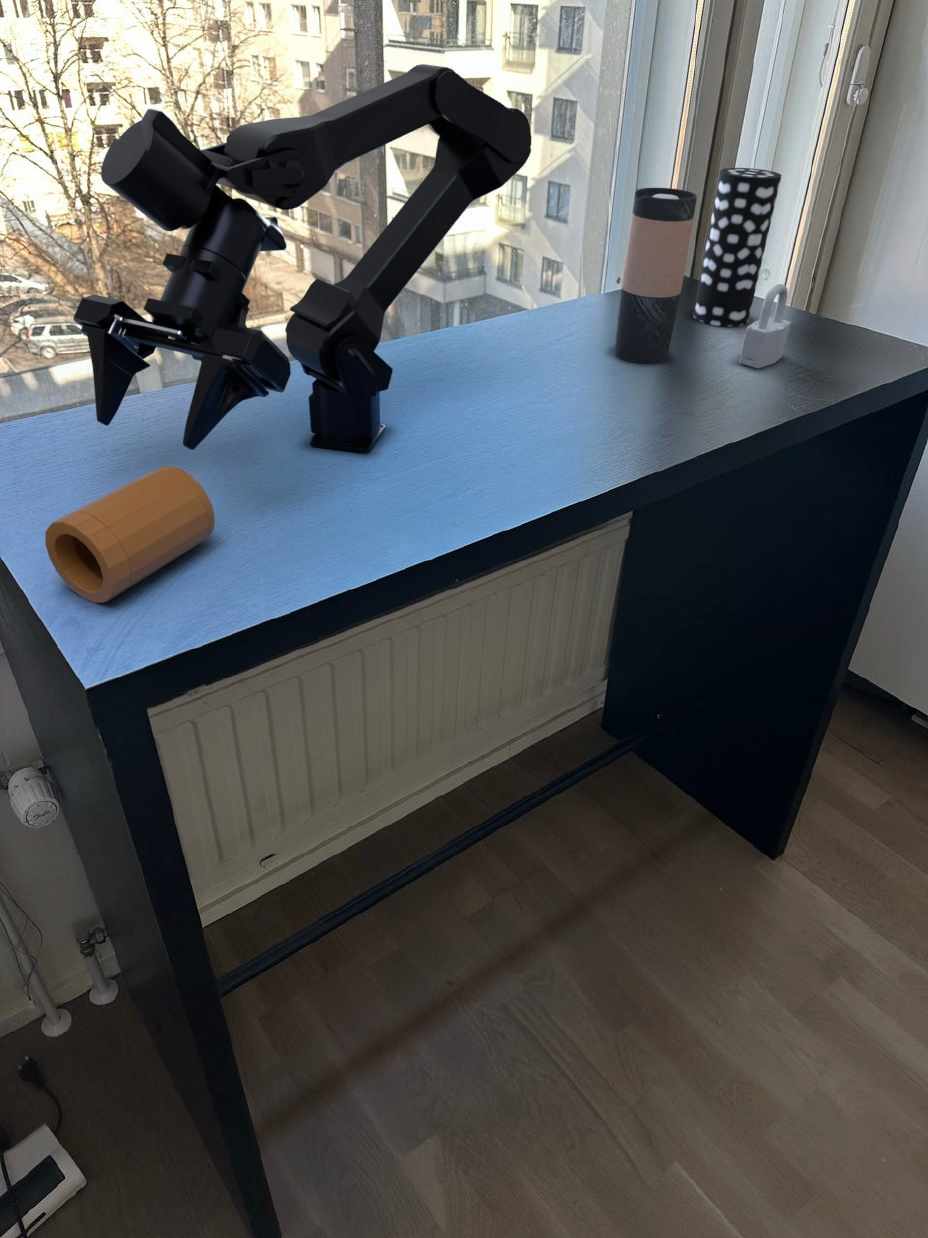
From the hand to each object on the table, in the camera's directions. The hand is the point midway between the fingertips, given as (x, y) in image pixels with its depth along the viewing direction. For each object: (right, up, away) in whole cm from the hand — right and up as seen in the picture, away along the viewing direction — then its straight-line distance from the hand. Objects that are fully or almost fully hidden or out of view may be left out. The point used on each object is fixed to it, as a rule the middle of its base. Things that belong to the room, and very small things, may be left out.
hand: (144, 435), depth 71 cm
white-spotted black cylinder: (+66, +31, +61) cm, 95 cm away
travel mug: (+50, +20, +46) cm, 71 cm away
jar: (+3, -6, +1) cm, 6 cm away
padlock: (+67, +20, +46) cm, 83 cm away
